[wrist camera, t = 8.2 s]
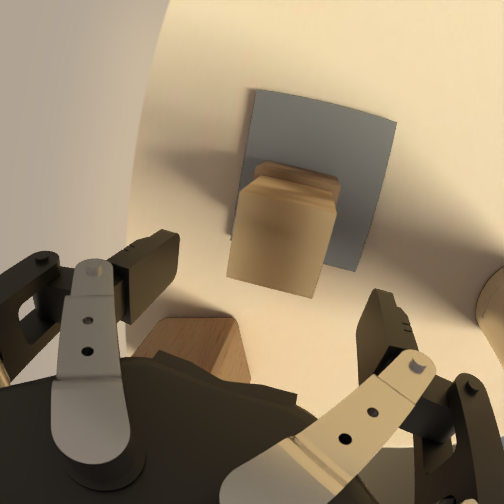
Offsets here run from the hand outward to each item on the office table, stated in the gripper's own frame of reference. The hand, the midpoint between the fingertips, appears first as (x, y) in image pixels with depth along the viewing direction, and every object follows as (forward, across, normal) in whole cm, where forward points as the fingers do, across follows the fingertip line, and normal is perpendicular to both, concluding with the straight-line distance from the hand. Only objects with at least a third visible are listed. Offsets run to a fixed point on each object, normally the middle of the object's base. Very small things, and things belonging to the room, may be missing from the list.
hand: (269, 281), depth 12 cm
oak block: (+10, 0, 0) cm, 10 cm away
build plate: (+16, 0, -2) cm, 16 cm away
